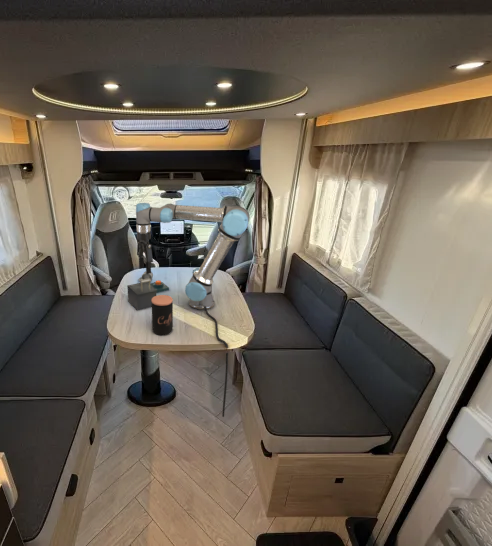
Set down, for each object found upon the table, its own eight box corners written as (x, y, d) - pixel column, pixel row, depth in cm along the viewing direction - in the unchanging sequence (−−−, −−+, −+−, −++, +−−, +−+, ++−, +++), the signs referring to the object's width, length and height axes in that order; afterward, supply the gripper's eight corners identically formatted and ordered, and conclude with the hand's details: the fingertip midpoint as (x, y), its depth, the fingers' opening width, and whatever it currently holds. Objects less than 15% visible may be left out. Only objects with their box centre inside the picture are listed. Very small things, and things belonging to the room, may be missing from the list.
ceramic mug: (153, 279, 227) (153, 269, 224) (152, 283, 219) (151, 273, 216) (139, 279, 227) (138, 269, 225) (137, 283, 220) (136, 273, 217)
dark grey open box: (156, 305, 187) (156, 291, 183) (137, 310, 181) (136, 295, 178) (146, 296, 199) (145, 282, 195) (128, 301, 193) (127, 286, 189)
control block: (169, 290, 208) (169, 284, 207) (155, 293, 204) (155, 287, 202) (160, 284, 218) (160, 279, 217) (147, 287, 213) (147, 281, 212)
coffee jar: (157, 338, 154) (156, 305, 147) (149, 328, 163) (148, 297, 156) (176, 333, 158) (176, 301, 152) (167, 323, 167) (166, 293, 161)
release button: (161, 284, 209) (161, 281, 208) (157, 285, 207) (157, 282, 207) (159, 282, 212) (159, 280, 211) (154, 283, 210) (154, 281, 210)
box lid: (157, 291, 183) (157, 278, 180) (137, 296, 177) (137, 282, 174) (145, 282, 195) (145, 270, 192) (127, 286, 189) (126, 274, 186)
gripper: (158, 235, 162) (159, 275, 170) (141, 227, 179) (143, 264, 187) (145, 237, 158) (147, 277, 166) (129, 228, 176) (131, 266, 184)
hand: (145, 270), depth 177 cm, fingers open, 9 cm apart
